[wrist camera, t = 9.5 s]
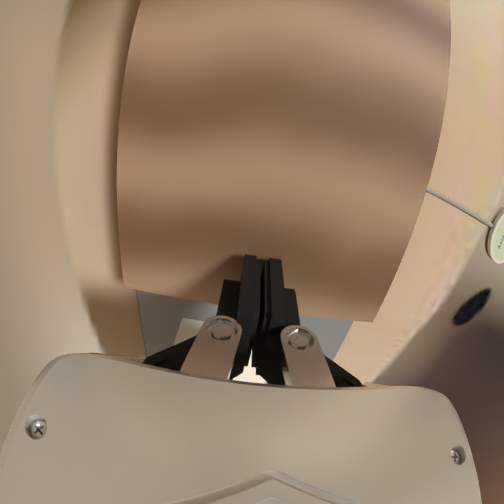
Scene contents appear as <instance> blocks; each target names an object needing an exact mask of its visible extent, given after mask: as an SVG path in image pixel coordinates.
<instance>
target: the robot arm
mask: <svg viewBox="0 0 504 504" xmlns="http://www.w3.org/2000/svg"><path fill="white" fill-rule="evenodd" d="M251 350H252V362H251V367H254V368H256V375H260V376H261V377H262V378H263V379H264V380H265V382H264V384H263V383H253V382H245V381H236V380H233V378H235V377H237V376H238V375H240V374H242V373H243V370H244V366H246V367H248V363H249V359H250V355H251ZM0 504H482V503H481V495H480V489H479V483H478V478H477V473H476V469H475V465H474V461H473V458H472V454H471V450H470V447H469V443H468V441H467V438H466V435H465V432H464V429H463V427H462V424H461V422H460V419H459V417H458V415H457V413H456V411H455V409H454V407H453V405H452V404H451V402H450V401H449V400H448V398H447V397H445V396H444V395H443V394H441V393H439V392H437V391H434V390H430V389H427V388H422V387H415V386H386V385H379V384H374V383H368V382H365V384H361V382H360V381H359V380H358V379H357V378H355V377H354V376H353V375H351V374H350V373H348V372H347V371H346V370H344V369H343V368H342V367H340V366H339V365H337V364H336V363H335V362H333V361H332V360H331V359H329V358H328V357H326V356H325V355H324V354H323V351H322V348H321V346H320V343H319V341H318V338H317V336H316V335H315V333H314V332H313V331H311V330H310V329H308V328H306V327H304V326H301V325H300V318H299V311H298V305H297V298H296V292H295V289H289V288H285V287H284V278H283V269H282V260H281V259H275V258H269V260H264V263H263V268H262V273H261V259H257V256H255V255H249V254H245V256H244V262H243V269H242V275H241V281H233V280H226V279H224V281H223V286H222V290H221V295H220V299H219V304H218V309H217V313H216V316H213V317H210V318H208V319H207V320H205V322H204V323H203V324H202V326H201V328H200V330H199V332H198V335H196V336H194V337H192V338H189V339H187V340H185V341H183V342H180V343H178V344H176V345H173V346H171V347H169V348H167V349H164V350H162V351H160V352H157V353H155V354H152V355H150V356H149V357H147V358H146V359H145V360H144V359H138V356H123V355H111V354H100V353H80V354H67V355H63V356H60V357H57V358H55V359H54V360H52V361H51V362H50V363H49V364H47V366H46V367H45V368H44V369H43V370H42V371H41V373H40V374H39V375H38V377H37V378H36V380H35V381H34V383H33V384H32V386H31V387H30V389H29V391H28V393H27V395H26V396H25V398H24V400H23V402H22V403H21V405H20V408H19V410H18V412H17V414H16V416H15V418H14V421H13V423H12V425H11V427H10V430H9V432H8V435H7V437H6V440H5V443H4V445H3V448H2V451H1V454H0Z"/></svg>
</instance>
